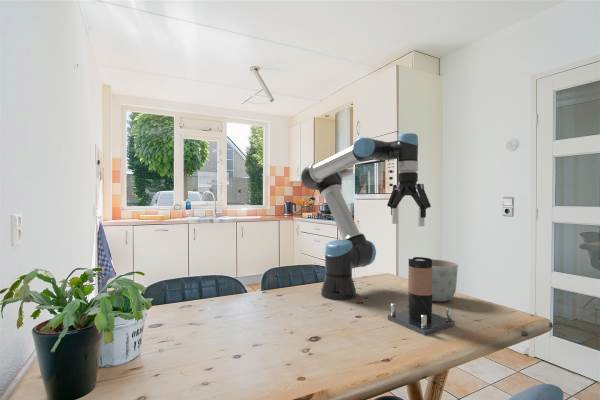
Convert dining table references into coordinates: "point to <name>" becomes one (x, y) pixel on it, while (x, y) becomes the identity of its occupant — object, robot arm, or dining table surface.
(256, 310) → the dining table surface
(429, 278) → the travel mug
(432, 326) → the stand
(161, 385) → the dining table surface
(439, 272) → the planter
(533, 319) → the dining table surface
